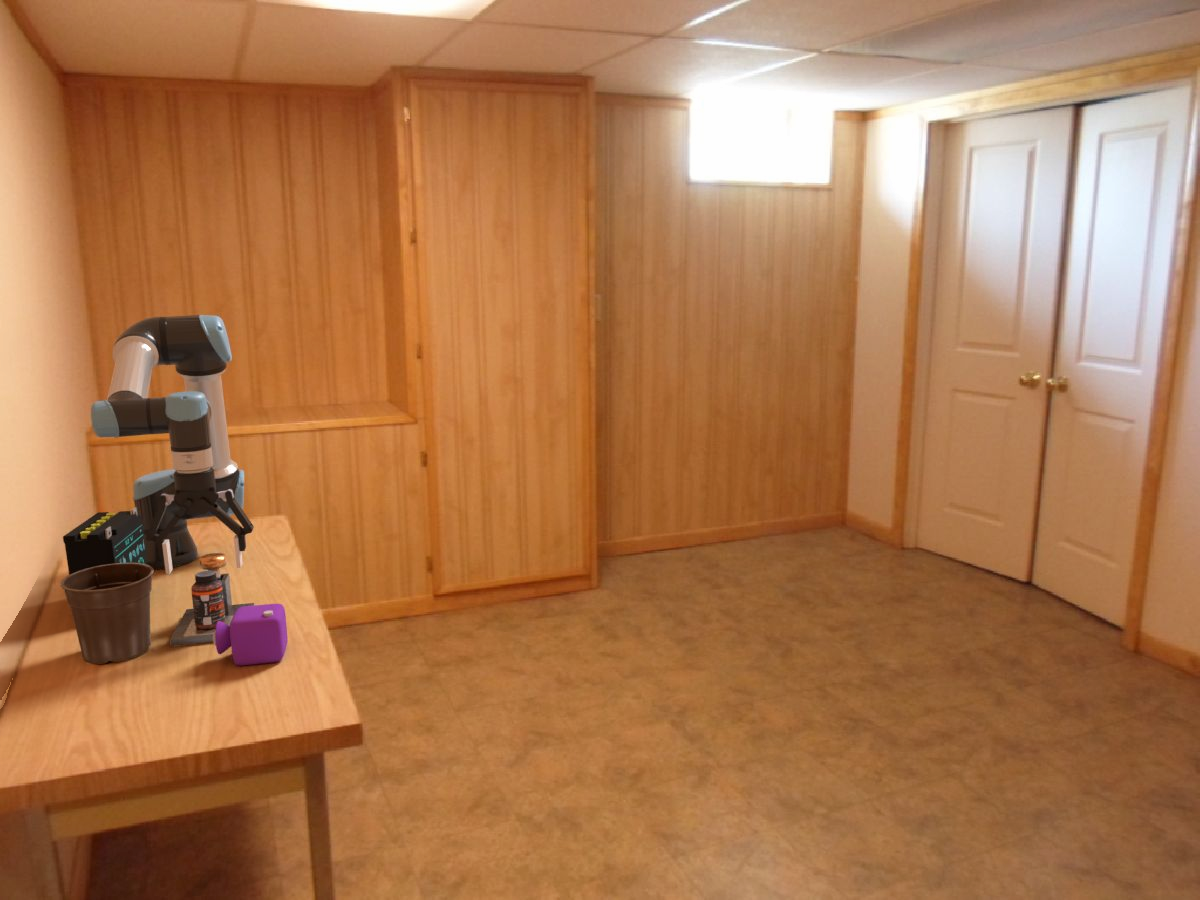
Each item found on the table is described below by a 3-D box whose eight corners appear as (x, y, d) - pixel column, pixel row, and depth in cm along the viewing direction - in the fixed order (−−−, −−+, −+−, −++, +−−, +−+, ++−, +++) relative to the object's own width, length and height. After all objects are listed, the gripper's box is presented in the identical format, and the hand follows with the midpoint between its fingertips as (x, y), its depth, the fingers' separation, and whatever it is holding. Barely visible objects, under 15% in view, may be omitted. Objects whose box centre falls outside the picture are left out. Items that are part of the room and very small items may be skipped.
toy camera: (214, 653, 182) (209, 606, 180) (287, 641, 187) (282, 595, 185) (215, 675, 172) (210, 625, 170) (292, 661, 178) (287, 613, 176)
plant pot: (180, 641, 188) (172, 566, 185) (116, 674, 174) (105, 593, 170) (120, 631, 194) (110, 558, 190) (52, 663, 179) (40, 585, 176)
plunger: (205, 584, 201) (201, 554, 200) (230, 582, 202) (227, 552, 201) (200, 592, 196) (197, 561, 195) (226, 590, 197) (223, 559, 196)
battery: (121, 617, 202) (110, 530, 198) (74, 620, 200) (62, 532, 196) (150, 587, 220) (140, 506, 216) (108, 589, 219) (97, 508, 215)
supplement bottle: (214, 631, 188) (208, 578, 186) (189, 629, 190) (182, 577, 187) (231, 620, 194) (226, 569, 192) (206, 618, 195) (201, 567, 193)
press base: (187, 615, 202) (182, 576, 200) (254, 609, 205) (250, 570, 203) (170, 646, 186) (165, 604, 184) (243, 639, 189) (239, 597, 187)
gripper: (121, 477, 178) (134, 580, 183) (256, 469, 184) (266, 569, 189) (131, 468, 186) (143, 568, 190) (261, 460, 191) (270, 557, 196)
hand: (204, 569), depth 189 cm, fingers open, 13 cm apart
